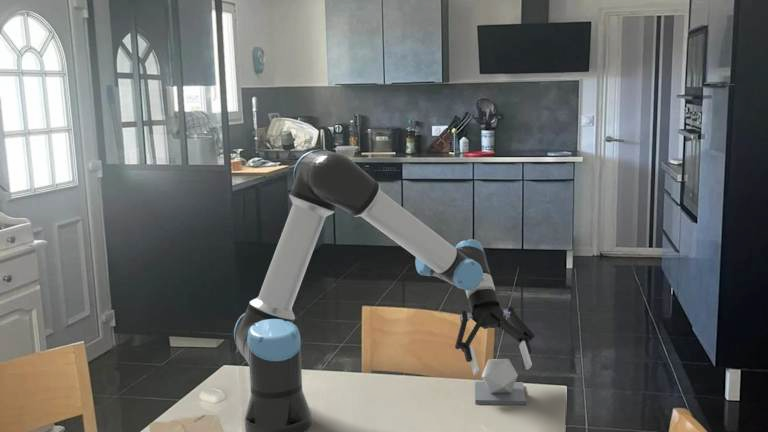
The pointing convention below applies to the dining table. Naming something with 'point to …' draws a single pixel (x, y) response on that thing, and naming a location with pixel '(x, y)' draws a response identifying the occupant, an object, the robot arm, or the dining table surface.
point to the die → (499, 376)
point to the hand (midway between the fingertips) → (503, 370)
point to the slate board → (499, 395)
